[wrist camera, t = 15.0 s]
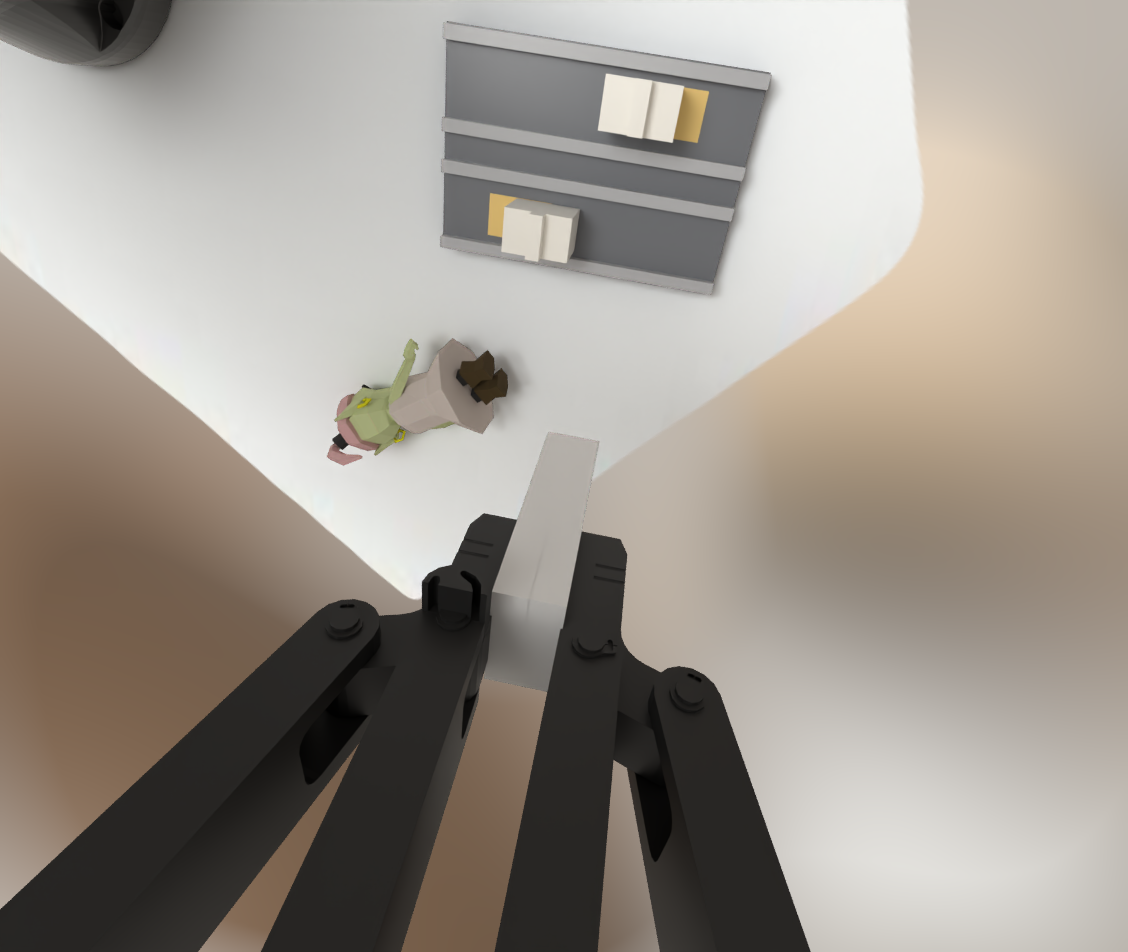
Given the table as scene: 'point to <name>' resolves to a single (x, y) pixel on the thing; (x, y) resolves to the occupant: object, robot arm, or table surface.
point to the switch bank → (593, 154)
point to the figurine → (420, 401)
